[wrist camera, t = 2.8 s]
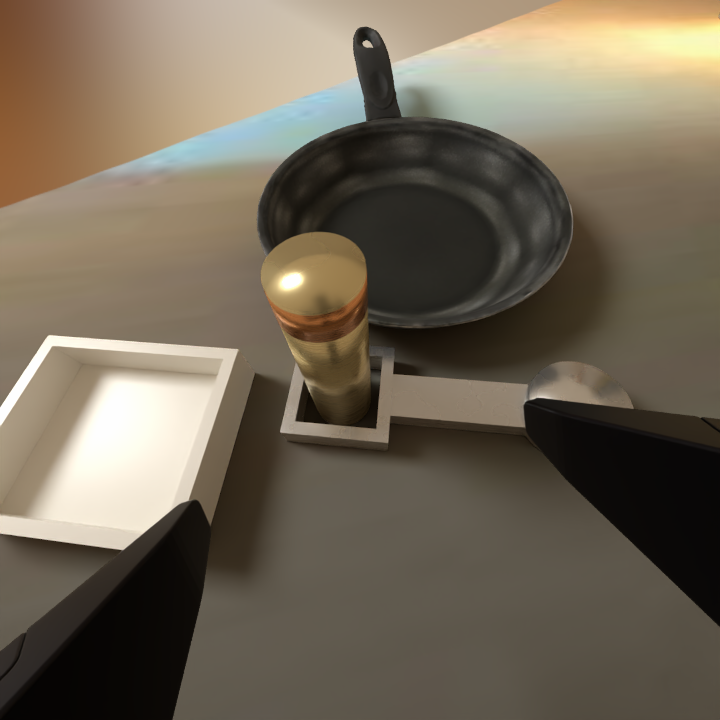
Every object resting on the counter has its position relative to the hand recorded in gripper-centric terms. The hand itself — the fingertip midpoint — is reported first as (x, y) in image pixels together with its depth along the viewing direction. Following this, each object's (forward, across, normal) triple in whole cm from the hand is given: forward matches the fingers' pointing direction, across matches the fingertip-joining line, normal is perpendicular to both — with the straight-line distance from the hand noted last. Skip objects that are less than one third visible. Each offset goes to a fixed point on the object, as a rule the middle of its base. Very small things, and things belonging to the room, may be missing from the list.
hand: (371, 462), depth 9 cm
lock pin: (+15, 0, +4) cm, 15 cm away
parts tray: (+15, +15, +3) cm, 22 cm away
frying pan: (+29, -10, -10) cm, 33 cm away
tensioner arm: (+13, -7, +6) cm, 15 cm away
